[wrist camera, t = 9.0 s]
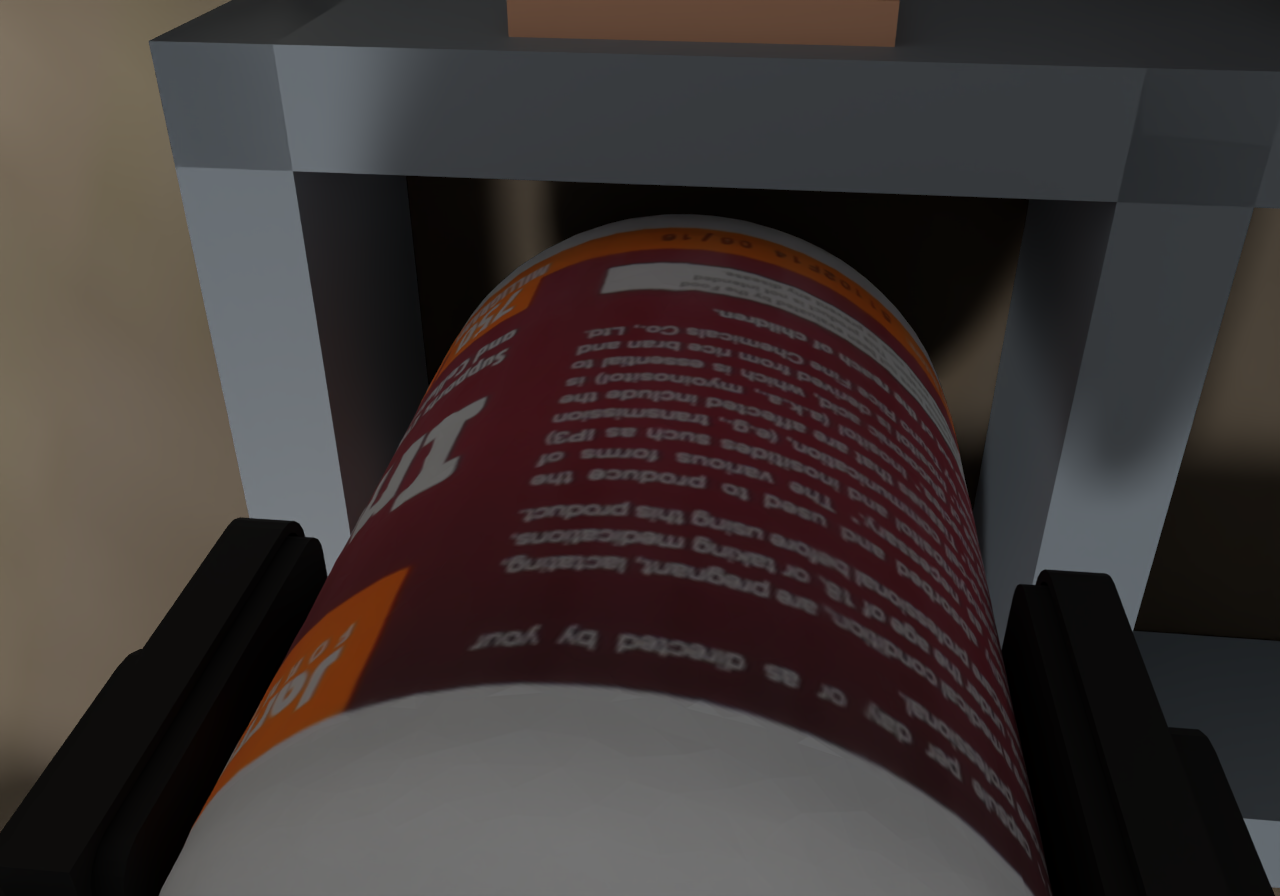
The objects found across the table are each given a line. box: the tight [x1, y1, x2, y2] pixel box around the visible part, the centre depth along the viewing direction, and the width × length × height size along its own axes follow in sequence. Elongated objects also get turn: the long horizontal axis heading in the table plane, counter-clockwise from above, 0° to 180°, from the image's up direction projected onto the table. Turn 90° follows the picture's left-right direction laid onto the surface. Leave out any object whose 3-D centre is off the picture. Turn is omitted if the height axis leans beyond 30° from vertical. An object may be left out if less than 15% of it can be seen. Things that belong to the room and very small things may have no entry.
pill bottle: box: [159, 214, 1053, 896], centre depth 10 cm, size 6×6×11 cm
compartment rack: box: [149, 0, 1280, 888], centre depth 14 cm, size 11×19×4 cm, turn 90°
